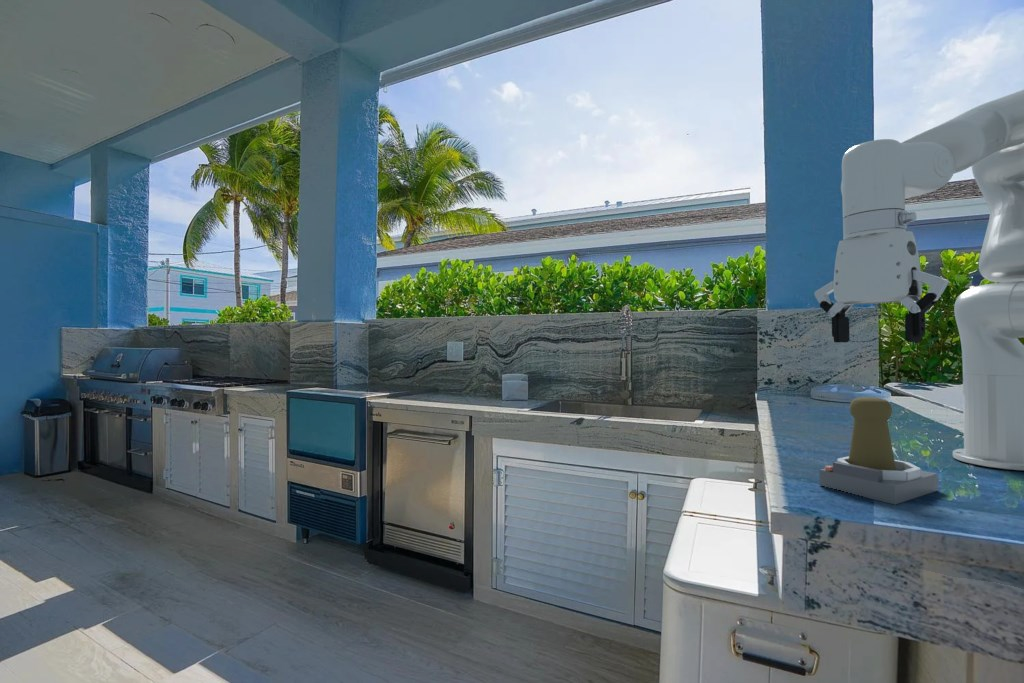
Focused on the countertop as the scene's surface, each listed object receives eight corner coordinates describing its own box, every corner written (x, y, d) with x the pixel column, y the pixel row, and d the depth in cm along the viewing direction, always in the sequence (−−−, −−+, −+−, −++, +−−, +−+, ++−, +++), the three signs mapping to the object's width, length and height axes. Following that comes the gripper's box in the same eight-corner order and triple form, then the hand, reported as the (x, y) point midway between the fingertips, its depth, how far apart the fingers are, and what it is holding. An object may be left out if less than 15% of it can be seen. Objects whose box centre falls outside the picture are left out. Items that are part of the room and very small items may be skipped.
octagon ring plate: (863, 474, 81) (862, 450, 81) (937, 490, 72) (937, 463, 72) (819, 485, 76) (819, 459, 76) (895, 504, 67) (894, 475, 67)
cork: (905, 476, 71) (904, 400, 71) (858, 474, 73) (857, 399, 73) (883, 465, 77) (882, 395, 77) (840, 464, 78) (839, 395, 78)
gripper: (958, 216, 68) (960, 341, 68) (828, 240, 83) (830, 341, 83) (931, 211, 65) (934, 342, 65) (801, 237, 80) (803, 343, 80)
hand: (875, 342), depth 74 cm, fingers open, 9 cm apart
